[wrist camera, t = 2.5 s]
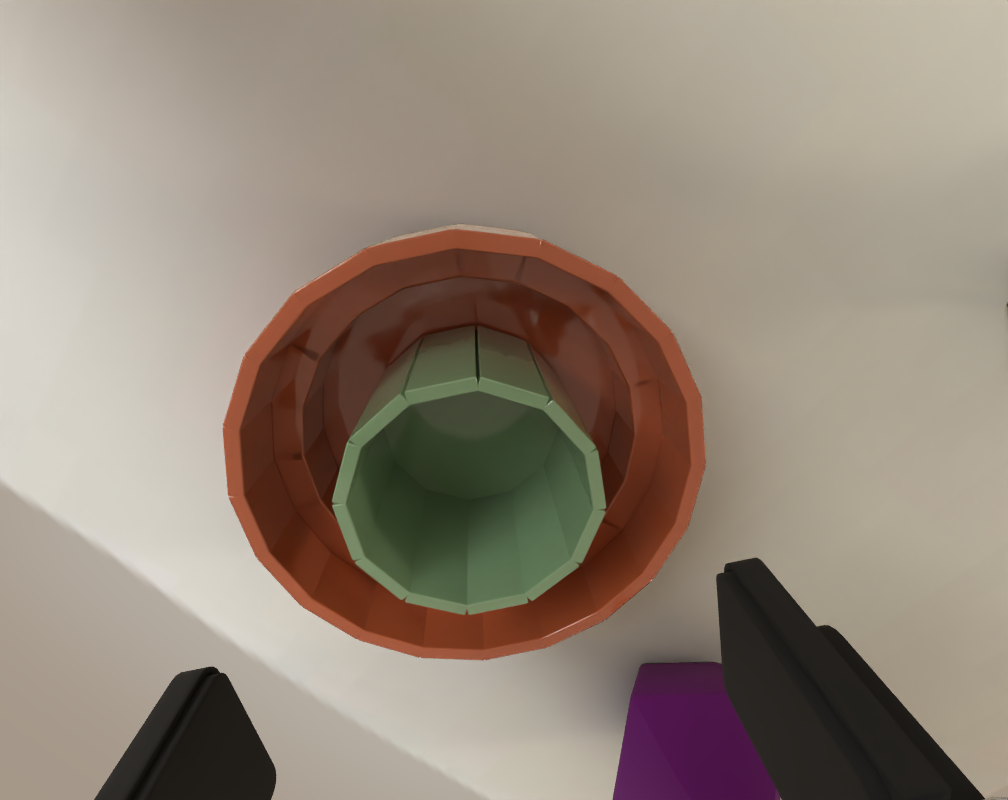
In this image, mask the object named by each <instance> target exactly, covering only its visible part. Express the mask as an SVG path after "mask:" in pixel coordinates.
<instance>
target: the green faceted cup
mask: <svg viewBox="0 0 1008 800" xmlns="http://www.w3.org/2000/svg"><path fill="white" fill-rule="evenodd" d="M332 502H333V505H332V507H333V510H334V513H335V515H336V518H337V521H338V523H339V526H340V529H341V531H342V534H343V536H344V539H345V542H346V544H347V547H348V550H349V552H350V555H351V558H352V560H356V562H355V564H356V565H357V566H359V567H360V568H361V569H362V570H364V571H365V572H366V573H367V574H369V575H370V576H371V577H372V578H374V579H375V580H376V581H377V582H379V583H380V584H381V585H383V586H384V587H385V588H386V589H388V590H389V591H390V592H391V593H393V594H394V595H395V596H396V597H398V598H399V599H400V600H403V599H404V598H405V597H406V598H405V602H407V603H411V604H416V605H420V606H425V607H430V608H434V609H439V610H443V611H448V612H453V613H457V614H462V615H465V613H466V611H467V612H468V614H469V615H472V614H477V613H482V612H487V611H492V610H497V609H501V608H506V607H511V606H516V605H521V604H526V603H528V598H529V599H530V600H531V601H533V600H535V599H536V598H537V597H539V596H540V595H541V594H543V593H544V592H545V591H547V590H548V589H550V588H551V587H552V586H554V585H555V584H556V583H558V582H559V581H560V580H562V579H563V578H564V577H566V576H567V575H569V574H570V573H571V572H573V571H574V570H575V569H577V568H578V567H579V564H578V563H582V562H583V560H584V558H585V556H586V554H587V551H588V549H589V547H590V545H591V543H592V541H593V539H594V536H595V534H596V532H597V530H598V528H599V526H600V524H601V521H602V519H603V517H604V515H605V513H606V511H605V508H606V500H605V493H604V486H603V480H602V473H601V466H600V459H599V452H598V450H597V448H596V446H595V444H594V442H593V440H592V438H591V436H590V434H589V432H588V430H587V428H586V427H585V425H584V423H583V421H582V419H581V417H580V415H579V413H578V411H577V410H576V408H575V406H574V404H573V402H572V400H571V398H570V396H569V394H568V392H567V391H566V389H565V387H564V385H563V383H562V381H561V379H560V377H559V376H558V375H557V374H556V373H555V371H554V370H553V369H552V368H551V367H550V366H549V365H548V364H547V362H546V361H545V360H544V359H543V358H542V357H541V356H540V355H539V354H538V352H537V351H536V350H535V349H534V348H533V347H532V346H531V345H530V343H526V341H525V340H523V339H520V338H516V337H513V336H510V335H507V334H504V333H501V332H498V331H495V330H491V329H488V328H485V327H482V326H477V328H476V329H475V326H474V325H472V326H467V327H462V328H458V329H453V330H448V331H443V332H439V333H434V334H429V335H425V336H424V339H423V338H422V337H421V338H420V339H419V340H418V341H416V342H415V343H414V344H413V345H412V346H411V347H410V348H409V349H408V350H407V351H406V352H404V353H403V354H402V355H401V356H400V357H399V358H398V359H397V360H396V361H395V362H394V363H392V364H391V365H390V366H389V367H388V368H387V369H386V370H385V372H384V374H383V375H382V377H381V379H380V381H379V383H378V385H377V387H376V389H375V391H374V392H373V394H372V396H371V398H370V400H369V402H368V404H367V406H366V408H365V409H364V411H363V413H362V415H361V417H360V419H359V421H358V423H357V425H356V427H355V428H354V430H353V432H352V434H351V436H350V438H349V440H348V442H347V444H346V447H345V451H344V455H343V459H342V463H341V467H340V471H339V475H338V479H337V482H336V486H335V490H334V494H333V498H332Z"/></svg>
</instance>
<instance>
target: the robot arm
mask: <svg viewBox="0 0 1008 800" xmlns="http://www.w3.org/2000/svg"><path fill="white" fill-rule="evenodd" d="M716 581H717V596H718V611H719V626H720V641H721V656H722V671H723V682H724V686H725V689H726V692H727V695H728V697H729V699H730V702H731V704H732V705H733V707H734V709H735V711H736V713H737V715H738V717H739V719H740V721H741V723H742V725H743V726H744V728H745V730H746V732H747V734H748V736H749V738H750V740H751V742H752V744H753V745H754V747H755V749H756V751H757V753H758V755H759V757H760V759H761V761H762V763H763V764H764V766H765V768H766V770H767V772H768V774H769V776H770V778H771V780H772V782H773V783H774V785H775V787H776V789H777V791H778V793H779V795H780V797H781V799H782V800H1008V798H1002V797H991V798H987V799H985V798H984V797H983V796H982V795H981V793H980V792H979V791H978V790H977V789H976V788H975V787H974V785H973V784H972V783H971V782H970V781H969V780H968V779H967V777H966V776H965V775H964V774H963V773H962V772H961V771H960V769H959V768H958V767H957V766H956V765H955V764H954V763H953V761H952V760H951V759H950V758H949V757H948V756H947V755H946V753H945V752H944V751H943V750H942V749H941V748H940V747H939V745H938V744H937V743H936V742H935V741H934V740H933V739H932V737H931V736H930V735H929V734H928V733H927V732H926V731H925V729H924V728H923V727H922V726H921V725H920V724H919V723H918V721H917V720H916V719H915V718H914V717H913V716H912V715H911V713H910V712H909V711H908V710H907V709H906V708H905V707H904V705H903V704H902V703H901V702H900V701H899V700H898V699H897V697H896V696H895V695H894V694H893V693H892V692H891V691H890V689H889V688H888V687H887V686H886V685H885V684H884V683H883V681H882V680H881V679H880V678H879V677H878V676H877V675H876V673H875V672H874V671H873V670H872V669H871V668H870V667H869V665H868V664H867V663H866V662H865V661H864V660H863V659H862V657H861V656H860V655H859V654H858V653H857V652H856V651H855V649H854V648H853V647H852V646H851V645H850V644H849V643H848V641H847V640H846V639H845V638H844V637H843V636H842V635H841V634H840V633H839V632H838V631H837V630H836V629H834V628H832V627H831V626H829V625H823V626H818V627H816V625H815V624H814V623H813V622H812V621H811V619H810V618H809V617H808V616H807V615H806V613H805V612H804V611H803V610H802V609H801V607H800V606H799V605H798V604H797V603H796V601H795V600H794V599H793V598H792V597H791V595H790V594H789V593H788V592H787V591H786V589H785V588H784V587H783V586H782V585H781V583H780V582H779V581H778V580H777V579H776V577H775V576H774V575H773V574H772V573H771V571H770V570H769V569H768V568H767V566H766V565H765V564H764V563H763V562H762V561H761V560H760V559H758V558H752V559H747V560H742V561H737V562H732V563H727V564H725V567H724V573H720V574H717V576H716ZM275 784H276V770H275V767H274V764H273V762H272V761H271V759H270V757H269V755H268V753H267V751H266V749H265V747H264V745H263V743H262V741H261V740H260V738H259V736H258V734H257V732H256V730H255V728H254V726H253V724H252V722H251V720H250V718H249V717H248V715H247V713H246V711H245V709H244V707H243V705H242V703H241V701H240V699H239V698H238V696H237V694H236V692H235V690H234V688H233V686H232V684H231V682H230V680H229V678H228V677H227V675H226V674H224V673H220V672H219V671H218V669H217V668H215V667H206V668H201V669H196V670H191V671H186V672H181V673H180V674H178V675H177V676H175V678H174V679H173V680H172V681H171V683H170V684H169V686H168V687H167V689H166V690H165V692H164V694H163V695H162V697H161V698H160V700H159V701H158V703H157V704H156V706H155V707H154V709H153V710H152V712H151V714H150V715H149V716H148V718H147V720H146V721H145V723H144V724H143V726H142V727H141V729H140V730H139V732H138V733H137V735H136V736H135V738H134V739H133V741H132V743H131V744H130V746H129V747H128V749H127V750H126V752H125V753H124V755H123V757H122V758H121V759H120V761H119V763H118V764H117V766H116V767H115V769H114V770H113V772H112V773H111V775H110V776H109V778H108V779H107V781H106V783H105V784H104V785H103V787H102V789H101V790H100V791H99V793H98V795H97V796H96V798H95V799H94V800H271V798H272V795H273V792H274V789H275Z"/></svg>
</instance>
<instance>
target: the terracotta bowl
mask: <svg viewBox="0 0 1008 800" xmlns="http://www.w3.org/2000/svg"><path fill="white" fill-rule="evenodd" d="M472 325H474V326H475V329H476V328H477V326H482V327H485V328H488V329H491V330H495V331H498V332H501V333H504V334H507V335H510V336H513V337H516V338H520V339H523V340H525V341H526V343H530V345H531V346H532V347H533V348H534V349H535V350H536V351H537V352H538V354H539V355H540V356H541V357H542V358H543V359H544V360H545V361H546V362H547V364H548V365H549V366H550V367H551V368H552V369H553V370H554V371H555V373H556V374H557V375H558V376H559V377H560V379H561V381H562V383H563V385H564V387H565V389H566V391H567V392H568V394H569V396H570V398H571V400H572V402H573V404H574V406H575V408H576V410H577V411H578V413H579V415H580V417H581V419H582V421H583V423H584V425H585V427H586V428H587V430H588V432H589V434H590V436H591V438H592V440H593V442H594V444H595V446H596V448H597V450H598V452H599V459H600V466H601V473H602V480H603V486H604V493H605V500H606V508H605V511H606V513H605V515H604V517H603V519H602V521H601V524H600V526H599V528H598V530H597V532H596V534H595V536H594V539H593V541H592V543H591V545H590V547H589V549H588V551H587V554H586V556H585V558H584V560H583V562H582V563H578V564H579V567H578V568H577V569H575V570H574V571H573V572H571V573H570V574H569V575H567V576H566V577H564V578H563V579H562V580H560V581H559V582H558V583H556V584H555V585H554V586H552V587H551V588H550V589H548V590H547V591H545V592H544V593H543V594H541V595H540V596H539V597H537V598H536V599H535V600H533V601H531V600H530V599H529V598H528V603H526V604H521V605H516V606H511V607H506V608H501V609H497V610H492V611H487V612H482V613H477V614H472V615H469V614H468V612H467V611H466V613H465V615H462V614H457V613H453V612H448V611H443V610H439V609H434V608H430V607H425V606H420V605H416V604H411V603H407V602H405V598H406V597H405V598H404V599H403V600H400V599H399V598H398V597H396V596H395V595H394V594H393V593H391V592H390V591H389V590H388V589H386V588H385V587H384V586H383V585H381V584H380V583H379V582H377V581H376V580H375V579H374V578H372V577H371V576H370V575H369V574H367V573H366V572H365V571H364V570H362V569H361V568H360V567H359V566H357V565H356V564H355V562H356V560H352V558H351V555H350V552H349V550H348V547H347V544H346V542H345V539H344V536H343V534H342V531H341V529H340V526H339V523H338V521H337V518H336V515H335V513H334V510H333V507H332V505H333V502H332V498H333V494H334V490H335V486H336V482H337V479H338V475H339V471H340V467H341V463H342V459H343V455H344V451H345V447H346V444H347V442H348V440H349V438H350V436H351V434H352V432H353V430H354V428H355V427H356V425H357V423H358V421H359V419H360V417H361V415H362V413H363V411H364V409H365V408H366V406H367V404H368V402H369V400H370V398H371V396H372V394H373V392H374V391H375V389H376V387H377V385H378V383H379V381H380V379H381V377H382V375H383V374H384V372H385V370H386V369H387V368H388V367H389V366H390V365H391V364H392V363H394V362H395V361H396V360H397V359H398V358H399V357H400V356H401V355H402V354H403V353H404V352H406V351H407V350H408V349H409V348H410V347H411V346H412V345H413V344H414V343H415V342H416V341H418V340H419V339H420V338H421V337H422V338H423V339H424V336H425V335H429V334H434V333H439V332H443V331H448V330H453V329H458V328H462V327H467V326H472ZM223 426H224V427H223V438H224V450H225V463H226V475H227V487H228V496H229V499H230V502H231V504H232V506H233V508H234V510H235V512H236V515H237V517H238V519H239V521H240V523H241V525H242V528H243V530H244V532H245V534H246V536H247V539H248V541H249V543H250V545H251V547H252V549H253V552H254V554H255V556H256V557H257V559H258V560H259V561H260V562H261V563H262V564H263V566H264V567H265V568H266V569H267V570H268V571H269V572H270V573H271V574H272V575H273V576H274V577H275V578H276V580H277V581H278V582H279V583H280V584H281V585H282V586H283V587H284V588H285V589H286V590H287V591H288V592H289V594H290V595H291V596H292V597H293V598H294V599H295V600H296V601H297V602H298V603H299V604H300V605H301V606H302V607H303V608H305V609H307V610H308V611H310V612H312V613H313V614H315V615H317V616H318V617H320V618H322V619H323V620H325V621H327V622H329V623H330V624H332V625H334V626H335V627H337V628H339V629H340V630H342V631H344V632H345V633H347V634H349V635H350V636H352V637H354V638H355V639H358V640H360V641H363V642H367V643H370V644H374V645H377V646H381V647H384V648H388V649H391V650H395V651H398V652H401V653H405V654H408V655H412V656H415V657H421V658H437V659H464V660H484V659H485V660H489V659H494V658H498V657H503V656H508V655H513V654H518V653H523V652H528V651H533V650H538V649H543V648H546V647H550V646H552V645H554V644H556V643H558V642H560V641H562V640H564V639H567V638H569V637H571V636H573V635H575V634H577V633H579V632H581V631H583V630H586V629H588V628H590V627H592V626H594V625H596V624H598V623H600V622H602V621H604V620H606V619H607V618H608V617H609V616H611V615H612V614H613V613H614V612H615V611H616V610H618V609H619V608H620V607H621V606H622V605H624V604H625V603H626V602H627V601H628V600H630V599H631V598H632V597H633V596H634V595H635V594H637V593H638V592H639V591H640V590H641V589H643V588H644V587H645V586H646V585H647V584H649V583H650V582H651V581H652V579H654V577H655V576H656V574H657V573H658V571H659V570H660V568H661V567H662V566H663V564H664V563H665V561H666V560H667V558H668V557H669V555H670V554H671V552H672V551H673V549H674V548H675V546H676V545H677V543H678V542H679V540H680V539H681V537H682V536H683V534H684V533H685V531H686V530H687V526H689V522H690V519H691V515H692V512H693V508H694V505H695V501H696V498H697V494H698V491H699V487H700V484H701V480H702V477H703V473H704V470H705V464H706V461H705V444H704V428H703V412H702V399H701V395H700V393H699V390H698V388H697V386H696V384H695V381H694V379H693V377H692V374H691V372H690V370H689V368H688V365H687V363H686V361H685V359H684V356H683V354H682V352H681V350H680V347H679V345H678V343H677V341H676V338H675V336H674V334H673V333H672V332H671V330H670V329H669V328H668V327H667V326H666V325H665V324H664V323H663V322H662V321H661V320H660V319H659V317H658V316H657V315H656V314H655V313H654V312H653V311H652V310H651V309H650V308H649V307H648V306H647V305H646V304H645V303H644V302H643V301H642V300H641V299H640V298H639V297H638V296H637V295H636V294H635V293H634V292H633V291H632V290H631V289H630V288H629V287H628V286H627V285H626V284H625V283H624V282H623V281H622V280H621V279H620V278H619V277H617V276H616V275H615V274H613V273H611V272H609V271H607V270H605V269H603V268H601V267H599V266H597V265H594V264H592V263H590V262H588V261H586V260H584V259H582V258H580V257H578V256H576V255H574V254H572V253H570V252H568V251H566V250H564V249H562V248H560V247H558V246H555V245H553V244H551V243H549V242H547V241H545V240H543V239H541V238H538V237H536V236H534V235H531V234H529V233H526V232H522V231H517V230H509V229H501V228H492V227H484V226H476V225H468V224H459V225H458V224H453V225H448V226H443V227H439V228H434V229H429V230H425V231H420V232H415V233H411V234H406V235H401V236H397V237H394V238H391V239H388V240H386V241H382V242H380V243H377V244H374V245H372V246H369V247H367V248H364V249H363V250H361V251H359V252H358V253H356V254H354V255H353V256H351V257H350V258H348V259H346V260H345V261H343V262H341V263H340V264H338V265H337V266H335V267H333V268H332V269H330V270H328V271H327V272H325V273H323V274H322V275H320V276H319V277H317V278H315V279H314V280H312V281H310V282H309V283H307V284H306V285H304V286H302V287H301V288H299V289H297V290H296V291H295V292H294V293H292V294H291V296H290V297H289V298H288V300H287V301H286V302H285V303H284V305H283V306H282V307H281V308H280V310H279V311H278V312H277V314H276V315H275V316H274V317H273V319H272V320H271V321H270V323H269V324H268V325H267V326H266V328H265V329H264V330H263V331H262V333H261V334H260V335H259V337H258V338H257V339H256V340H255V342H254V343H253V344H252V346H251V347H250V348H249V349H248V351H247V352H246V353H245V356H244V357H243V360H242V364H241V367H240V370H239V373H238V377H237V380H236V383H235V387H234V390H233V393H232V397H231V400H230V403H229V407H228V410H227V413H226V417H225V420H224V423H223Z"/></svg>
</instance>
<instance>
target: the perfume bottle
mask: <svg viewBox="0 0 1008 800" xmlns="http://www.w3.org/2000/svg"><path fill="white" fill-rule="evenodd" d="M613 800H780V795H779V793H778V791H777V789H776V787H775V785H774V783H773V782H772V780H771V778H770V776H769V774H768V772H767V770H766V768H765V766H764V764H763V763H762V761H761V759H760V757H759V755H758V753H757V751H756V749H755V747H754V745H753V744H752V742H751V740H750V738H749V736H748V734H747V732H746V730H745V728H744V726H743V725H742V723H741V721H740V719H739V717H738V715H737V713H736V711H735V709H734V707H733V705H732V704H731V702H730V699H729V697H728V695H727V692H726V689H725V686H724V682H723V671H722V665H721V664H718V663H716V662H705V663H653V664H643V665H641V667H640V668H639V672H638V675H637V678H636V681H635V685H634V688H633V691H632V695H631V698H630V704H629V709H628V715H627V721H626V726H625V732H624V738H623V743H622V749H621V755H620V761H619V766H618V772H617V778H616V783H615V789H614V795H613Z"/></svg>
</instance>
